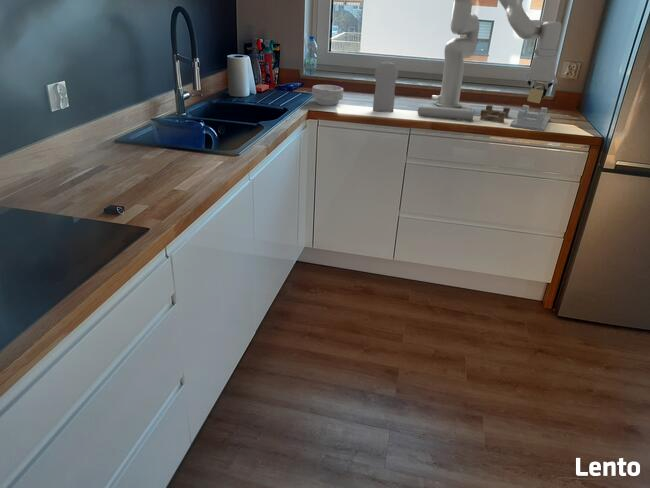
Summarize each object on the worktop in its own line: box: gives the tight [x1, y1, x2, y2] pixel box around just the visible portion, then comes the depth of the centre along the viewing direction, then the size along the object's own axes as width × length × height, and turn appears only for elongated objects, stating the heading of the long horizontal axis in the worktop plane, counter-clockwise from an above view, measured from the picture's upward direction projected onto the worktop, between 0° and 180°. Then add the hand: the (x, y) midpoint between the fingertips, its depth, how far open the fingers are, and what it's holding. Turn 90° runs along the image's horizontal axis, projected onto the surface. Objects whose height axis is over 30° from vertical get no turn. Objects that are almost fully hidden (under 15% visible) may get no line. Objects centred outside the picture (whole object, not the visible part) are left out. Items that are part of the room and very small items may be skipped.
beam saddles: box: [479, 104, 511, 123], centre depth 234 cm, size 10×15×4 cm
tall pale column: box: [372, 61, 399, 113], centre depth 233 cm, size 11×4×22 cm, turn 93°
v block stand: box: [509, 104, 551, 132], centre depth 227 cm, size 14×26×6 cm, turn 153°
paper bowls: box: [311, 84, 344, 106], centre depth 247 cm, size 15×15×8 cm
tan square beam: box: [526, 81, 545, 104], centre depth 222 cm, size 5×24×5 cm, turn 153°
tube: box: [417, 105, 475, 122], centre depth 230 cm, size 5×5×25 cm
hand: (537, 96), depth 223 cm, fingers closed on tan square beam, 4 cm apart
